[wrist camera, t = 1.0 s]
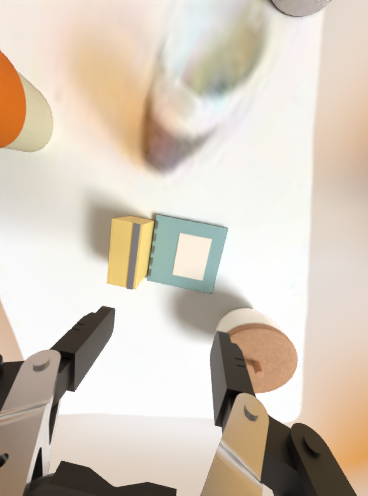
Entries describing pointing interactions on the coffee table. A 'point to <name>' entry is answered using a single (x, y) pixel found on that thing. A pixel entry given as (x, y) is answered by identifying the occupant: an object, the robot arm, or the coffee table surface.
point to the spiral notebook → (186, 253)
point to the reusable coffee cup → (22, 111)
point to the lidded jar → (261, 348)
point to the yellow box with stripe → (129, 250)
